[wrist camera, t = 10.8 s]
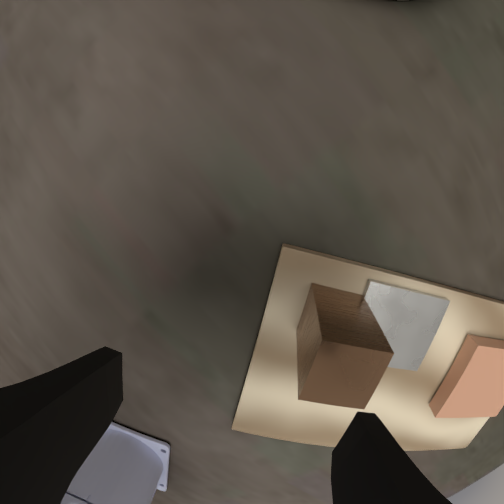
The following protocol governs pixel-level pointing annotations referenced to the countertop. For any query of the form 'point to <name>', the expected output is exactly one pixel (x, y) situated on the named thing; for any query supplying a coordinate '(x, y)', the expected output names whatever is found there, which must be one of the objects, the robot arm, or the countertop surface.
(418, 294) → the bookend
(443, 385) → the tile
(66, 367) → the robot arm
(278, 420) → the board
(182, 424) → the countertop surface
